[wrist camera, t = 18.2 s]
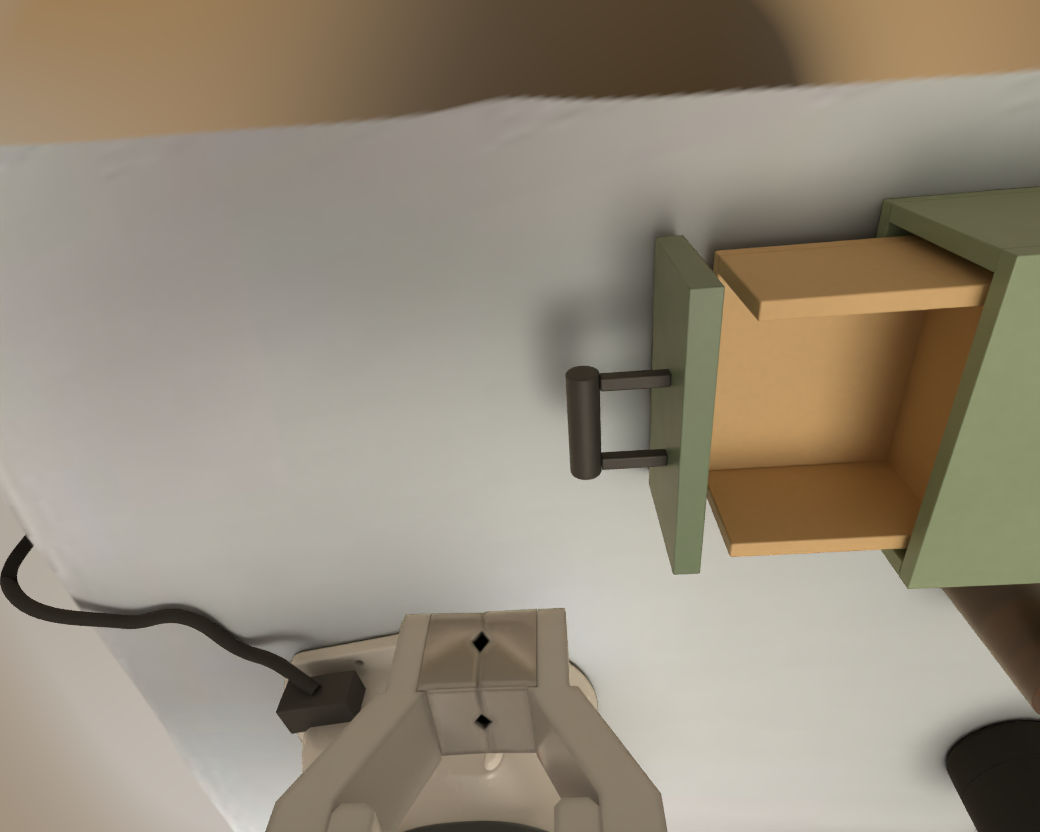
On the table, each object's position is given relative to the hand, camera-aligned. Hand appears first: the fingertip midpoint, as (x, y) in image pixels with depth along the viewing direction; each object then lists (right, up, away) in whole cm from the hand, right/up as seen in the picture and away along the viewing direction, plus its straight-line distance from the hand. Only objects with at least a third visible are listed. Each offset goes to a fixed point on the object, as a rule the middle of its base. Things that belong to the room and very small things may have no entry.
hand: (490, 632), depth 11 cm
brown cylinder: (+29, -5, +26) cm, 39 cm away
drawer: (+11, +6, +18) cm, 22 cm away
